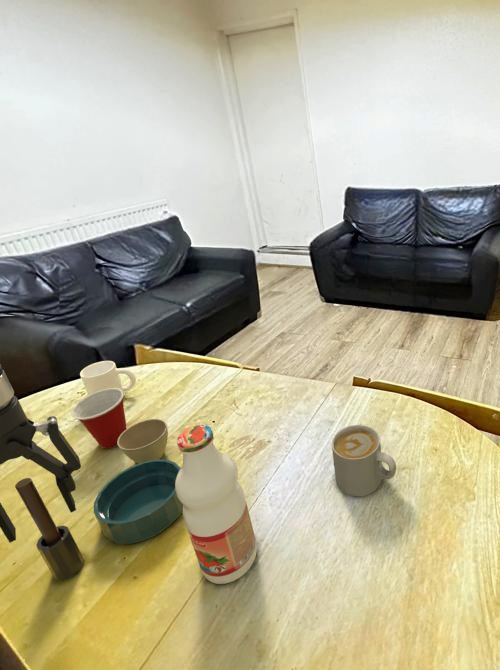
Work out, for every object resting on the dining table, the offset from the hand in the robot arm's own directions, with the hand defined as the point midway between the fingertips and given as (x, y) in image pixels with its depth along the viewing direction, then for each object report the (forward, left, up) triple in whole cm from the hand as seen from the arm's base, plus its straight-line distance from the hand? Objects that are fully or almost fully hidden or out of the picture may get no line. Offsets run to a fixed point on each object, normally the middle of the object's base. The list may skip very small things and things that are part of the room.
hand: (43, 520), depth 67 cm
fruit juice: (+28, +3, -12) cm, 31 cm away
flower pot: (-1, +26, -12) cm, 29 cm away
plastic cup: (-14, +31, -12) cm, 36 cm away
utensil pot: (0, 0, -12) cm, 12 cm away
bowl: (+7, +12, -12) cm, 18 cm away
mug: (-25, +48, -12) cm, 55 cm away
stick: (0, 0, -12) cm, 12 cm away
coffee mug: (+50, +21, -12) cm, 56 cm away
